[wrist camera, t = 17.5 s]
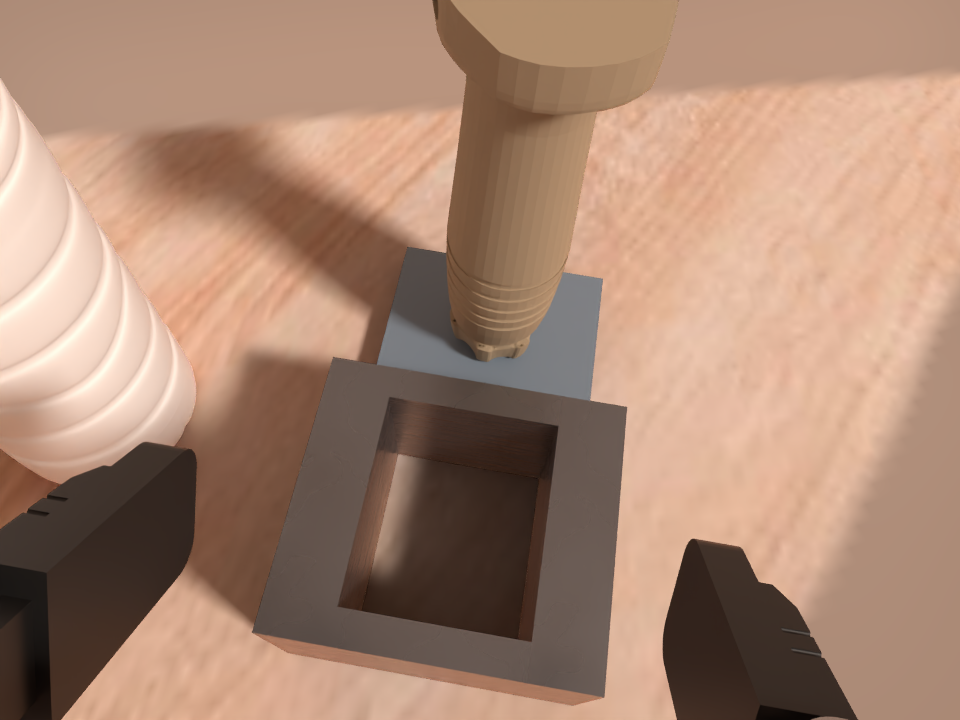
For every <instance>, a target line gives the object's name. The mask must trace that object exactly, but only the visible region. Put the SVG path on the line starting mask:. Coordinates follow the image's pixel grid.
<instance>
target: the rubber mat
mask: <svg viewBox="0 0 960 720" xmlns="http://www.w3.org/2000/svg"><path fill="white" fill-rule="evenodd" d="M446 259H447V258H446V253H442V252H436V251H430V250H424V249H418V248H412V247H407V251H406V254H405V258H404V262H403V266H402V270H401V273H400V277H399V281H398V285H397V289H396V293H395V296H394V300H393V304H392V308H391V312H390V315H389V319H388V323H387V327H386V331H385V335H384V338H383V342H382V346H381V350H380V354H379V357H378V361H377V365H382V366H388V367H394V368H400V369H406V370H412V371H418V372H424V373H430V374H435V375H441V376H447V377H453V378H459V379H465V380H471V381H477V382H482V383H488V384H494V385H500V386H506V387H512V388H518V389H524V390H530V391H535V392H541V393H547V394H553V395H559V396H565V397H571V398H577V399H582V400H588V401H590V396H591V387H592V377H593V368H594V358H595V349H596V339H597V329H598V320H599V310H600V301H601V291H602V282H603V279H601V278H595V277H589V276H583V275H576V274H570V273H564V272H563V274H562V277H561V280H560V283H559V285H558V288H557V290H556V293H555V295H554V297H553V300H552V302H551V305H550V307H549V309H548V311H547V313H546V315H545V316H544V318H543V320H542V321H541V323H540V324H539V326H538V327H537V329H536V330H535V331H534V332H533V333H532V334H531V335H530V338H529V339H530V342H529V345H528V347H527V349H526V351H525V352H524V353H523V354H522V355H521V356H519V357H517V358H514V359H512V358H510V357H497V358H494V359H491V360H490V361H489V362H485V361H481V360H478V359H477V358H476V355H475V353H474V351H473V350H472V349H471V347H470V346H469V345H468V344H467V343H466V342H465V341H463V340H460V339H458V338H456V337H455V335H454V332H453V329H452V326H451V319H450V310H451V304H450V300H449V292H448V282H447V263H446Z"/></svg>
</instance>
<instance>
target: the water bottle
mask: <svg viewBox="0 0 960 720" xmlns="http://www.w3.org/2000/svg"><path fill="white" fill-rule="evenodd" d="M195 401H196V382H195V378H194V372H193V368H192V366H191V363H190V361H189V359H188V357H187V356H186V354H185V352H184V351H183V349H182V348H181V346H180V345H179V343H178V342H177V340H176V338H175V337H174V335H173V334H172V332H171V331H170V329H169V328H168V326H167V325H166V324H165V323H164V322H163V321H162V319H161V317H160V315H159V314H158V312H157V310H156V309H155V307H154V306H153V304H152V303H151V301H150V300H149V298H148V297H147V296H146V295H145V294H144V293H143V292H142V290H141V288H140V286H139V284H138V283H137V281H136V279H135V278H134V276H133V274H132V273H131V271H130V269H129V268H128V266H127V265H126V264H125V262H124V261H123V260H122V258H121V257H120V256H119V255H117V254H116V251H115V249H114V247H113V245H112V243H111V242H110V240H109V238H108V237H107V235H106V233H105V232H104V230H103V229H102V228H101V226H100V225H99V224H98V223H97V222H95V220H94V218H93V216H92V214H91V212H90V211H89V209H88V207H87V206H86V204H85V202H84V201H83V199H82V197H81V196H80V194H79V193H78V191H77V190H76V188H75V187H74V185H73V184H72V183H71V181H70V180H69V179H68V178H67V176H66V175H65V174H63V173H62V171H61V169H60V167H59V165H58V163H57V161H56V159H55V158H54V156H53V154H52V153H51V151H50V149H49V148H48V146H47V144H46V143H45V141H44V140H43V138H42V137H41V135H40V134H39V132H38V131H37V129H36V128H35V127H34V125H33V124H32V123H31V121H30V120H29V119H28V118H27V116H26V115H25V113H24V112H23V110H22V109H21V108H20V106H19V105H18V104H17V102H16V101H15V100H14V99H13V98H12V97H11V95H10V93H9V91H8V90H7V88H6V86H5V85H4V83H3V81H2V80H1V78H0V449H2V450H3V451H4V452H5V453H6V454H8V455H9V456H10V457H12V458H13V459H15V460H16V461H17V462H19V463H20V464H22V465H23V466H25V467H26V468H28V469H30V470H31V471H33V472H34V473H36V474H38V475H39V476H41V477H43V478H45V479H47V480H50V481H52V482H55V483H58V484H63V483H64V482H66V481H67V480H68V479H70V478H71V477H74V476H76V475H79V474H82V473H84V472H87V471H90V470H92V469H95V468H98V467H100V466H103V465H106V466H112V465H113V464H114V463H116V462H117V461H118V460H120V459H121V458H122V457H124V456H125V455H126V454H127V453H129V452H130V451H131V450H133V449H134V448H135V447H136V446H138V445H139V444H141V443H142V442H152V443H158V444H163V445H169V446H175V444H176V443H177V442H178V441H179V439H180V438H181V436H182V434H183V432H184V428H185V425H186V424H188V422H189V421H190V419H191V417H192V414H193V410H194V406H195Z"/></svg>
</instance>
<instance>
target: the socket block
mask: <svg viewBox="0 0 960 720" xmlns="http://www.w3.org/2000/svg"><path fill="white" fill-rule="evenodd" d="M626 413H627V407H624V406H618V405H612V404H606V403H600V402H594V401H588V400H582V399H577V398H571V397H565V396H559V395H553V394H547V393H541V392H535V391H530V390H524V389H518V388H512V387H506V386H500V385H494V384H488V383H482V382H477V381H471V380H465V379H459V378H453V377H447V376H441V375H435V374H430V373H424V372H418V371H412V370H406V369H400V368H394V367H388V366H382V365H377V364H371V363H365V362H359V361H353V360H347V359H341V358H335V357H333V360H332V363H331V366H330V370H329V373H328V377H327V380H326V383H325V387H324V390H323V394H322V397H321V400H320V404H319V407H318V411H317V414H316V417H315V421H314V424H313V427H312V431H311V434H310V438H309V441H308V444H307V448H306V451H305V455H304V458H303V461H302V465H301V468H300V472H299V475H298V478H297V482H296V485H295V488H294V492H293V495H292V499H291V502H290V505H289V509H288V512H287V516H286V519H285V522H284V526H283V529H282V533H281V536H280V539H279V543H278V546H277V549H276V553H275V556H274V560H273V563H272V566H271V570H270V573H269V577H268V580H267V583H266V587H265V590H264V594H263V597H262V600H261V604H260V607H259V611H258V614H257V617H256V621H255V624H254V627H253V631H252V633H253V634H255V635H257V636H259V637H261V638H262V639H264V640H266V641H268V642H270V643H271V644H273V645H275V646H277V647H278V648H280V649H282V650H284V651H286V652H287V653H291V654H297V655H302V656H308V657H313V658H318V659H324V660H329V661H335V662H340V663H345V664H351V665H356V666H362V667H367V668H372V669H378V670H383V671H389V672H394V673H399V674H405V675H410V676H416V677H421V678H427V679H432V680H437V681H443V682H448V683H454V684H459V685H464V686H470V687H475V688H481V689H486V690H491V691H497V692H502V693H508V694H513V695H518V696H524V697H529V698H535V699H540V700H545V701H551V702H556V703H562V704H567V705H577V704H581V703H585V702H589V701H593V700H597V699H601V698H604V694H605V682H606V669H607V656H608V643H609V630H610V618H611V605H612V592H613V579H614V567H615V554H616V541H617V528H618V516H619V503H620V490H621V477H622V464H623V452H624V439H625V426H626ZM398 454H402V455H407V456H413V457H419V458H425V459H430V460H436V461H442V462H448V463H453V464H459V465H465V466H471V467H476V468H482V469H488V470H494V471H499V472H505V473H511V474H516V475H522V476H528V477H534V478H539V483H538V490H537V498H536V505H535V513H534V520H533V528H532V535H531V543H530V550H529V558H528V565H527V573H526V580H525V588H524V595H523V603H522V610H521V618H520V625H519V633H518V640H517V639H512V638H506V637H501V636H495V635H490V634H484V633H479V632H473V631H468V630H462V629H457V628H451V627H446V626H440V625H435V624H429V623H424V622H418V621H413V620H407V619H402V618H397V617H391V616H386V615H380V614H375V613H369V612H364V611H362V607H363V603H364V599H365V594H366V590H367V586H368V581H369V577H370V573H371V568H372V564H373V560H374V556H375V551H376V547H377V543H378V538H379V534H380V530H381V525H382V521H383V517H384V512H385V508H386V504H387V499H388V495H389V491H390V486H391V482H392V478H393V473H394V469H395V465H396V460H397V456H398Z"/></svg>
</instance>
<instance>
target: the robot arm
mask: <svg viewBox="0 0 960 720" xmlns="http://www.w3.org/2000/svg"><path fill="white" fill-rule="evenodd" d="M196 469H197V462H196V456H195V453H194V452H193V451H192V450H191V449H186V448H180V447H175V446H169V445H163V444H158V443H152V442H142V443H141V444H139V445H138V446H136V447H135V448H134V449H133V450H131V451H130V452H129V453H127V454H126V455H125V456H124V457H122V458H121V459H120V460H118V461H117V462H116V463H114V464H113V465H112V466H106V465H103V466H100V467H98V468H95V469H92V470H90V471H87V472H84V473H82V474H79V475H76V476H74V477H71V478H70V479H68V480H67V481H66V482H64V483H63V484H61V485H60V486H59V487H57V488H56V489H55V490H53V491H52V492H50V493H49V494H48V495H47V498H46V499H45V498H42V499H41V500H40V501H38V502H37V503H35V504H34V505H33V506H31V507H30V508H29V509H28V511H27V513H22V514H20V515H19V516H18V517H16V518H15V519H13V520H12V521H11V522H9V523H8V524H7V525H5V526H4V527H3V528H1V529H0V720H61V719H62V718H63V717H64V715H65V714H66V713H67V712H68V710H69V709H70V708H71V707H72V706H73V704H74V703H75V702H76V701H77V699H78V698H79V697H80V696H81V695H82V693H83V692H84V691H85V690H86V688H87V687H88V686H89V685H90V684H91V682H92V681H93V680H94V679H95V678H96V676H97V675H98V674H99V673H100V671H101V670H102V669H103V668H104V667H105V665H106V664H107V663H108V662H109V660H110V659H111V658H112V657H113V656H114V654H115V653H116V652H117V651H118V649H119V648H120V647H121V646H122V645H123V643H124V642H125V641H126V640H127V639H128V637H129V636H130V635H131V634H132V632H133V631H134V630H135V629H136V628H137V626H138V625H139V624H140V623H141V621H142V620H143V619H144V618H145V617H146V615H147V614H148V613H149V612H150V610H151V609H152V608H153V607H154V606H155V604H156V603H157V602H158V601H159V599H160V598H161V597H162V596H163V595H164V593H165V592H166V591H167V590H168V589H169V587H170V586H171V585H172V584H173V582H174V581H175V580H176V579H177V578H178V576H179V575H180V574H181V572H182V571H183V569H184V567H185V565H186V563H187V561H188V558H189V555H190V553H191V549H192V545H193V539H194V524H195V497H196ZM663 661H664V666H665V670H666V674H667V679H668V683H669V687H670V691H671V696H672V700H673V704H674V709H675V713H676V717H677V720H858V719H857V717H856V715H855V714H854V712H853V710H852V708H851V706H850V704H849V703H848V701H847V699H846V697H845V695H844V693H843V692H842V690H841V688H840V686H839V684H838V682H837V680H836V679H835V677H834V675H833V673H832V671H831V669H830V668H829V666H828V664H827V662H826V660H825V659H824V658H821V651H820V649H819V647H818V646H817V644H816V642H815V640H814V638H813V637H810V631H809V629H808V627H807V625H806V623H805V621H804V620H803V618H802V616H801V614H800V612H799V610H798V609H797V607H796V606H795V605H793V604H792V603H791V602H790V601H789V600H788V599H787V598H786V597H785V596H784V595H783V594H782V593H781V592H780V591H779V590H777V589H776V588H775V587H774V586H773V585H771V584H766V583H760V582H758V580H757V578H756V576H755V574H754V572H753V569H752V567H751V565H750V563H749V561H748V559H747V557H746V555H745V553H744V551H743V550H742V548H741V547H738V546H732V545H726V544H721V543H715V542H709V541H704V540H698V539H691V540H690V541H689V543H688V544H687V546H686V549H685V552H684V555H683V559H682V563H681V566H680V570H679V574H678V577H677V581H676V585H675V588H674V592H673V596H672V599H671V603H670V607H669V610H668V614H667V618H666V622H665V627H664V633H663Z"/></svg>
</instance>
